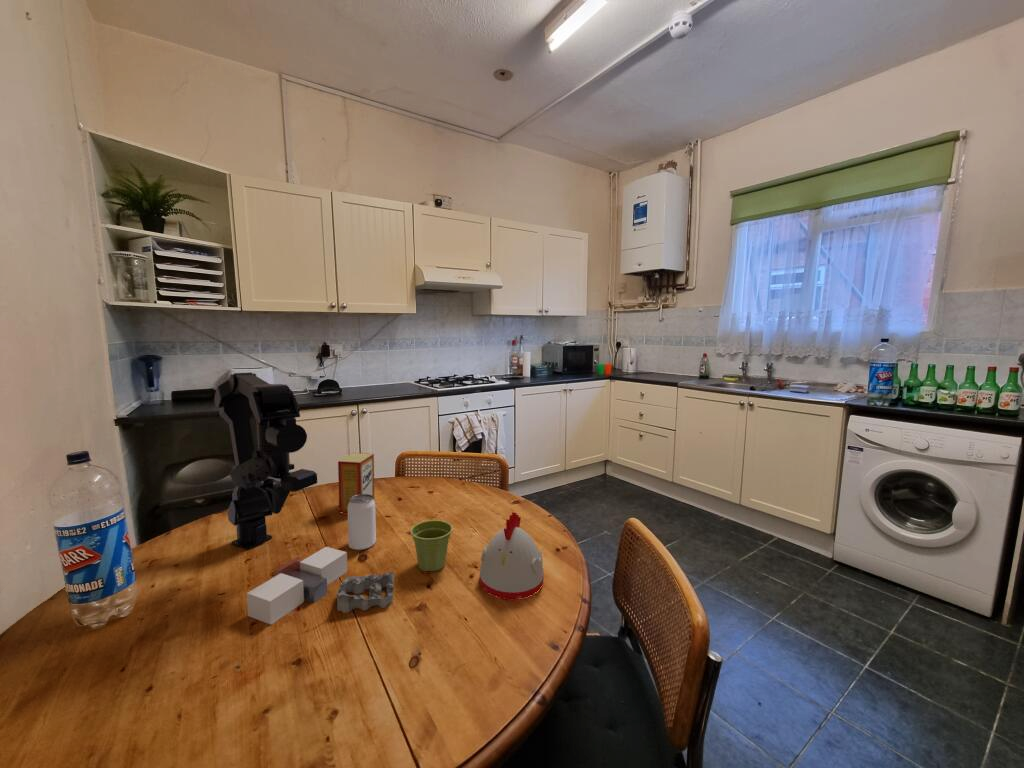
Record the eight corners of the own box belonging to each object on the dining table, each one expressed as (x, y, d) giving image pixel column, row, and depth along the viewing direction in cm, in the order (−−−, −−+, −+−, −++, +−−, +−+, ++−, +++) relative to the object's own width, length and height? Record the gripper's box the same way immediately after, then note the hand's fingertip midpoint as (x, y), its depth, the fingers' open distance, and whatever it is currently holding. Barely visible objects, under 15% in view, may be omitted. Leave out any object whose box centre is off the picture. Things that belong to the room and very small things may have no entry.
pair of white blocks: (248, 615, 75) (246, 593, 74) (326, 565, 92) (326, 546, 92) (271, 624, 73) (270, 601, 72) (347, 571, 90) (346, 552, 89)
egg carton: (333, 616, 76) (332, 596, 75) (341, 592, 83) (341, 573, 83) (392, 609, 78) (392, 589, 78) (395, 586, 85) (395, 567, 85)
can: (366, 552, 98) (366, 504, 97) (342, 549, 99) (341, 501, 98) (380, 539, 104) (380, 494, 103) (357, 536, 106) (357, 492, 104)
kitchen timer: (468, 590, 84) (469, 521, 82) (494, 557, 97) (495, 497, 95) (532, 607, 79) (534, 534, 78) (550, 570, 92) (552, 506, 91)
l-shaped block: (276, 594, 82) (275, 569, 81) (298, 580, 86) (297, 557, 86) (310, 605, 78) (309, 580, 78) (331, 590, 83) (330, 566, 82)
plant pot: (402, 564, 93) (402, 528, 92) (435, 549, 100) (436, 516, 99) (426, 582, 87) (426, 543, 86) (460, 564, 94) (461, 528, 93)
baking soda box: (354, 500, 129) (353, 451, 127) (374, 501, 128) (373, 452, 126) (339, 513, 119) (338, 460, 118) (360, 514, 119) (359, 461, 117)
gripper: (205, 447, 83) (209, 520, 85) (270, 458, 76) (273, 537, 78) (256, 435, 93) (260, 501, 95) (318, 445, 87) (320, 515, 88)
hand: (276, 513), depth 89 cm, fingers closed
